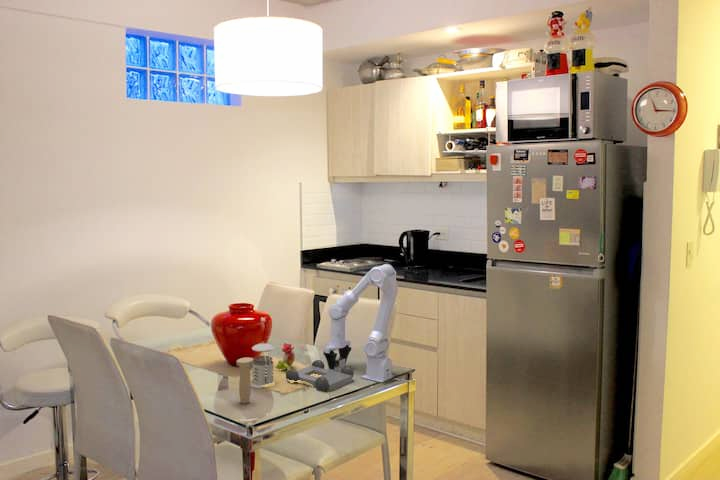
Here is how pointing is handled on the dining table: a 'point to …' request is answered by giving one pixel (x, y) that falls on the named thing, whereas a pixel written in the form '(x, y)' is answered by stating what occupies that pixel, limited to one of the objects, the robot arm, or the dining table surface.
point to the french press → (262, 365)
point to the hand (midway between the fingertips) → (337, 366)
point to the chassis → (328, 378)
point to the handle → (245, 378)
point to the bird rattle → (286, 358)
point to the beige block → (339, 364)
